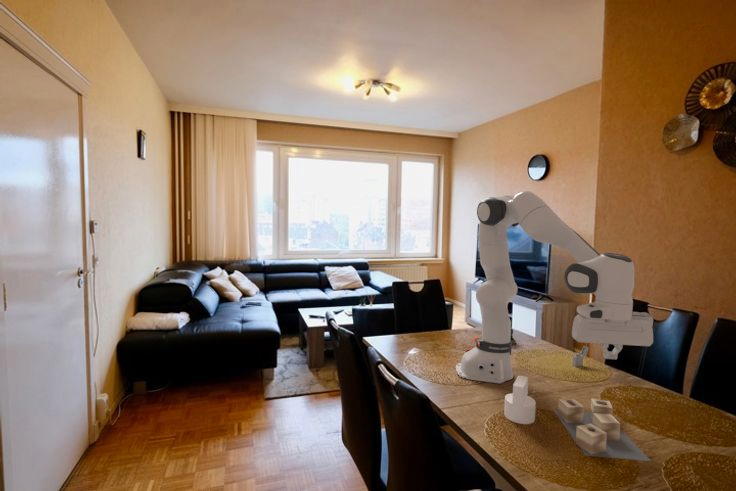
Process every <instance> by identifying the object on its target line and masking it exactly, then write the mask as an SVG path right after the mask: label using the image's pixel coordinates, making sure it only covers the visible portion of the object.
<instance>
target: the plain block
mask: <svg viewBox="0 0 736 491" xmlns="http://www.w3.org/2000/svg"><path fill="white" fill-rule="evenodd" d="M592 425H594V426H596V427H597V428H599V429H601V430H602V431H604V432H606V433H607V438H606V440H615V441H619V438H620V429H621V423H620V421H618V420H617V419H616V418H615V416H613V414H612V415H611V414H598V413H593V424H592Z"/></svg>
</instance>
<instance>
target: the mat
mask: <svg viewBox="0 0 736 491" xmlns="http://www.w3.org/2000/svg"><path fill="white" fill-rule="evenodd" d="M553 413H554V414H555V415H556V416H557V418H558V419H559V421H560V422H561V423H562V425H563V426H564V428H565V429H566V431H567V432H568V434H569V435H570V436H571V438H572V439H573V441H574V442H575V443H576V428H577V426H580V425H585V424H590V423H591V424H593V420H592V417H591V414H590V411H589V412H588V411H584V416H583V423H567V422H566V421H564V420H563V419H562V418H561V417H560V416H559V415H558V409H553ZM578 448H580V450H581V452H582V454H584V456H586V457H596V458H597V457H598V458H609V459H619V460H629V461H642V462H652V460H651V459H650V458H649V457H648V456H647V455H646V454H645V453H644V451H642V450H641V449H640V448H639V447H638V445H637V444H635V443H634V441H632V439H630V437H629V436H628V435H627V434H626V433H625V432H624V431H623V430H622V429H621V428H620V438H619V441H615V440H606V451H604V452H600V453H595V454H590V453H589V452H587V451H586V450H584V449H583V448H581V447H580V446H578Z"/></svg>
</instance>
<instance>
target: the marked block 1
mask: <svg viewBox="0 0 736 491" xmlns="http://www.w3.org/2000/svg"><path fill="white" fill-rule="evenodd" d="M584 409H585V407H584V405H582V403H579V401H577V400H576V399H575V398H574V399H572V398H569V399H567V398H563V399H561V398H560V399H558V409H557V410H558V415H559V416H560V417H561V418H562V419H563V420H564V421H566V422H567V423H583V416H584V412H585V410H584Z"/></svg>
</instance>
